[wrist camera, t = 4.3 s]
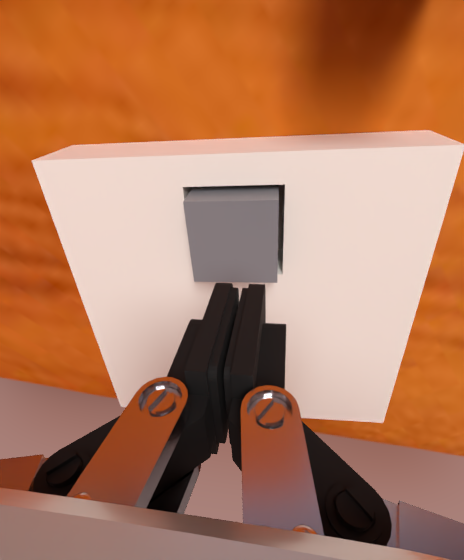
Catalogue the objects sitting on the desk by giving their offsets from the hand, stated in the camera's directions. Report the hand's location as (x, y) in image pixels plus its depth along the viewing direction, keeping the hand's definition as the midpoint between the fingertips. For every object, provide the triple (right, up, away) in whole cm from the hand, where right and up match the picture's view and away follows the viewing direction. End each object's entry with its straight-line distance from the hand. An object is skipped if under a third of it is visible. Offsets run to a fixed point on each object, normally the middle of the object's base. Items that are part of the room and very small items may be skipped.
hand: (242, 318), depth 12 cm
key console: (+1, +1, +12) cm, 12 cm away
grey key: (0, +5, +7) cm, 9 cm away
